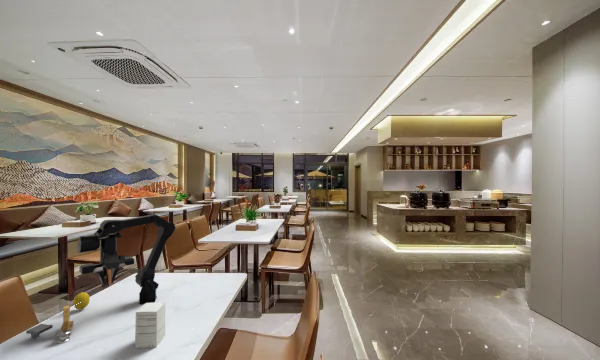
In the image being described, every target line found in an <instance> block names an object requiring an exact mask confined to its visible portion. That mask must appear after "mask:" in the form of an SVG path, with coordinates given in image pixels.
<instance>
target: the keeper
mask: <svg viewBox="0 0 600 360" xmlns="http://www.w3.org/2000/svg"><path fill="white" fill-rule="evenodd" d="M51 329H53V324H45V323H40V324H38V325H35V326H33V327H32V328H31V327H30V328H29V329H27V330H25V331H26V332H25V333H26V334H28V335H29V334H30V339H31V338H33V339H32V340H36V339H37V338H40V335H42V334H43V333H45V332H46V331H49V330H51Z"/></svg>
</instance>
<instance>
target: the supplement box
mask: <svg viewBox="0 0 600 360" xmlns="http://www.w3.org/2000/svg"><path fill="white" fill-rule="evenodd" d="M166 304H167V303H166V302H165V301H160V302H159V301H158V302H156V301H155V302H151V303H144V304H142V306H141V307H140V308H138V309H137V311H135V331H134V332H135V333H134V337H135V338H134V340H135V341H134V342H135V345H134V346H135V347H134V348H135V349H144V348H145V349H146V348H147V347H149V348H157V347H158V346H159V344H160V343H159V342H161V341H162V340H163V338H165V336H166V307H167V305H166ZM157 345H158V346H157ZM156 346H157V347H156Z"/></svg>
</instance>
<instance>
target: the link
mask: <svg viewBox="0 0 600 360" xmlns="http://www.w3.org/2000/svg"><path fill="white" fill-rule="evenodd" d="M70 313H71V304H70V303H68V304H64V305H63V313H62V324H61V326H60V327H61V328H60V329H59V332H60V331H63V330H66V329H71V333H70V334H69V335H68V337H70V336H71V334H72V331H73V327H74V320H70V318H71V317H70Z"/></svg>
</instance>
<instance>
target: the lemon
mask: <svg viewBox="0 0 600 360" xmlns="http://www.w3.org/2000/svg"><path fill="white" fill-rule="evenodd" d="M90 298H91V297H90V295H89V294H88V293H87V292H84V291H81V292H80V293H77V294H76V295H75V297H74V299H73V306H74V305H75V306H74V308H75V309H77V310H80V311H83V310H84V309H85V308H86V307H87V306H88V305H89V303H90V300H91V299H90ZM80 302H81V303H80ZM78 303H79V304H78ZM76 304H77V305H76Z"/></svg>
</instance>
